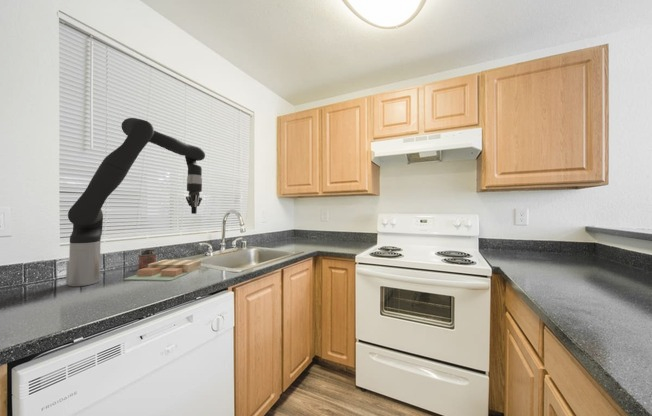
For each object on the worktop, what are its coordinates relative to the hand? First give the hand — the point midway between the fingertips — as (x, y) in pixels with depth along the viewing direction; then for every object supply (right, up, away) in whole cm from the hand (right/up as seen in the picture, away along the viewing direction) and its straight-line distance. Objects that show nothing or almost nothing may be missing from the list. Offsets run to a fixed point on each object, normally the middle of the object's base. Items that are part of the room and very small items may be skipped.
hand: (193, 213), depth 140 cm
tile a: (-8, -27, -24) cm, 37 cm away
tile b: (+2, -27, -24) cm, 36 cm away
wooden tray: (-3, -29, -13) cm, 32 cm away
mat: (-3, -29, -26) cm, 39 cm away
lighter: (-19, -29, -10) cm, 36 cm away
